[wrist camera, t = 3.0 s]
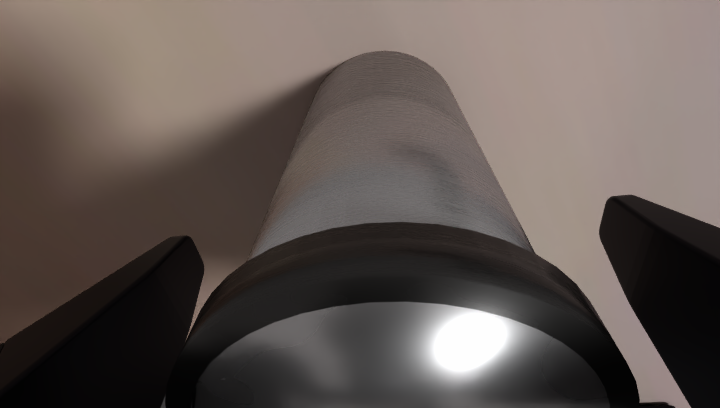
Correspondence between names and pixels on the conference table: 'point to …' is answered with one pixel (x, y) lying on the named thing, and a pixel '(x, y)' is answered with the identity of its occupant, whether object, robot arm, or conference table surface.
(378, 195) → the tube
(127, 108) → the conference table surface
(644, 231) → the robot arm
